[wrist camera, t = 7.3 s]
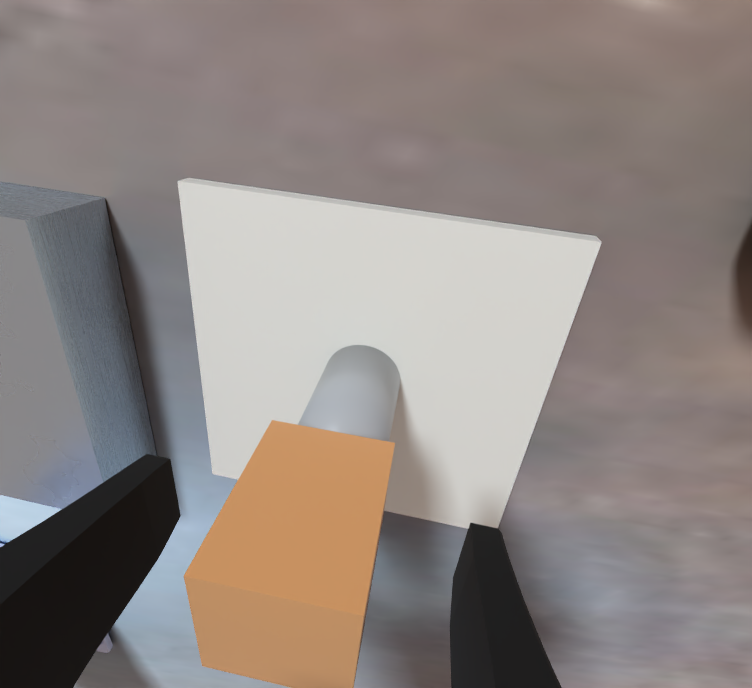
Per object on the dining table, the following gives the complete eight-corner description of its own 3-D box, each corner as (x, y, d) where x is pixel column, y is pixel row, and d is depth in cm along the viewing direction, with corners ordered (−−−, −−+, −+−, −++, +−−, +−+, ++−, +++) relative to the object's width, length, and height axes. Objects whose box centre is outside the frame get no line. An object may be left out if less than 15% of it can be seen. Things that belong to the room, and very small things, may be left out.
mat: (494, 522, 18) (495, 534, 18) (219, 464, 19) (212, 474, 19) (596, 236, 12) (601, 242, 12) (188, 177, 13) (177, 181, 13)
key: (400, 419, 16) (350, 702, 8) (318, 404, 16) (202, 665, 9) (412, 347, 14) (363, 616, 7) (321, 333, 15) (183, 575, 7)
